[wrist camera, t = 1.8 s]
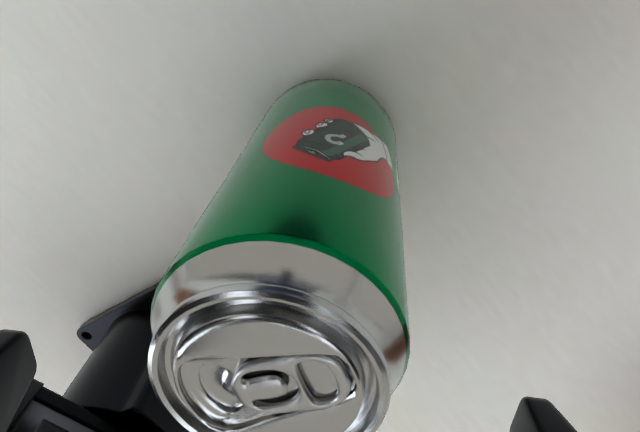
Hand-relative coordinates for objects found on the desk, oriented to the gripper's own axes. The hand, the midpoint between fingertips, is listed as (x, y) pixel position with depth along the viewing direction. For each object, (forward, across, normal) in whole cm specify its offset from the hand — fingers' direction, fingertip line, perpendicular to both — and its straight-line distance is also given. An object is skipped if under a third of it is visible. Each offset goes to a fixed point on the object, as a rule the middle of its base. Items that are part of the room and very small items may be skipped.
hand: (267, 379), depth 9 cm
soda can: (+12, 0, 0) cm, 12 cm away
